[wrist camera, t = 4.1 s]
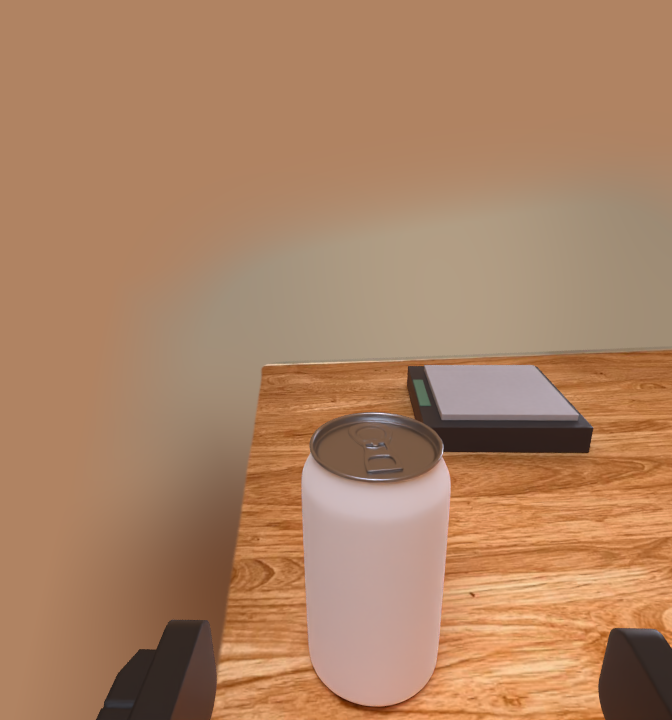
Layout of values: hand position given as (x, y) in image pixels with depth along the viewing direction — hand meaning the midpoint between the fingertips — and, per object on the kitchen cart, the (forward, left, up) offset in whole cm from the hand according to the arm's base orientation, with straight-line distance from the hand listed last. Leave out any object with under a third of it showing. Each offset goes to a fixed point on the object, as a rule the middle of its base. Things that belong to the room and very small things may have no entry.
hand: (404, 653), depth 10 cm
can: (-8, +8, -14) cm, 18 cm away
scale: (-18, +35, -14) cm, 42 cm away
